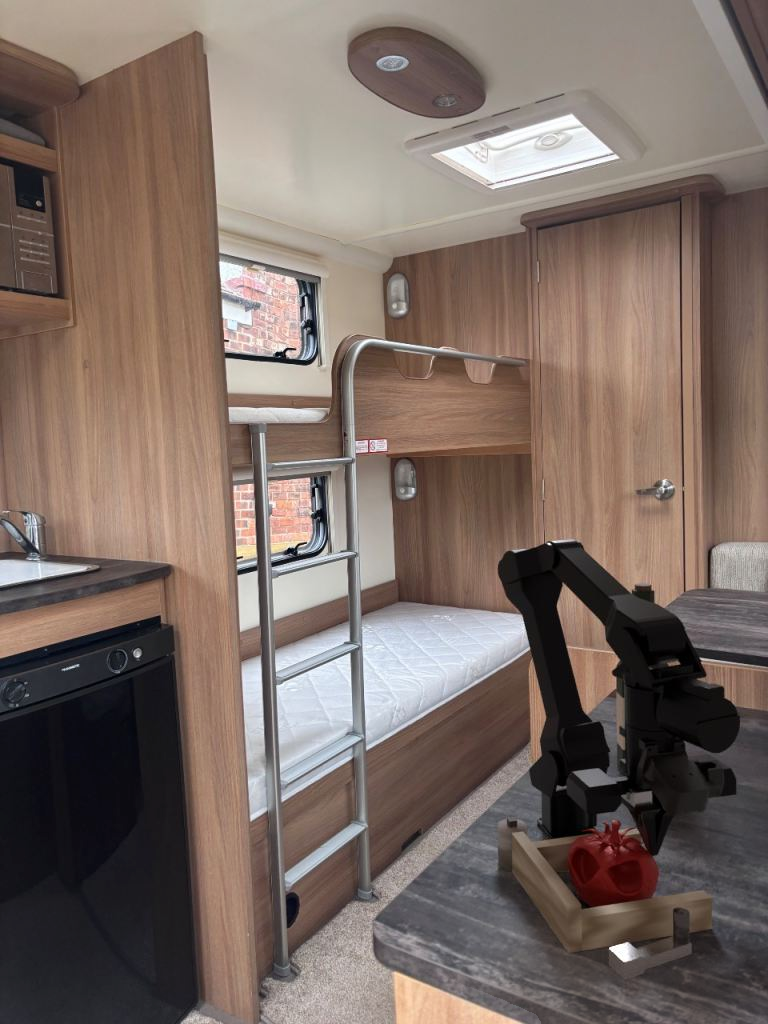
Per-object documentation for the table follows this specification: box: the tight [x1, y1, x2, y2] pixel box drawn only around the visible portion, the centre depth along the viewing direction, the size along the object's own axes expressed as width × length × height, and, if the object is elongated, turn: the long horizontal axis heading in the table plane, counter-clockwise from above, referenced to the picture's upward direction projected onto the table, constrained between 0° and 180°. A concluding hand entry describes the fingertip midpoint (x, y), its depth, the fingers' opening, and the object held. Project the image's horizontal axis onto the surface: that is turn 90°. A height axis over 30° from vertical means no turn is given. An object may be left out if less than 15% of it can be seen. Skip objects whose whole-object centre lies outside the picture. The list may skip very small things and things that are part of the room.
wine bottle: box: [615, 582, 670, 776], centre depth 123 cm, size 8×8×30 cm
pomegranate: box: [567, 819, 660, 908], centre depth 89 cm, size 10×10×9 cm
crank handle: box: [608, 907, 693, 981], centre depth 79 cm, size 9×2×4 cm, turn 111°
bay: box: [497, 816, 713, 954], centre depth 91 cm, size 18×20×6 cm
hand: (652, 854), depth 90 cm, fingers closed
